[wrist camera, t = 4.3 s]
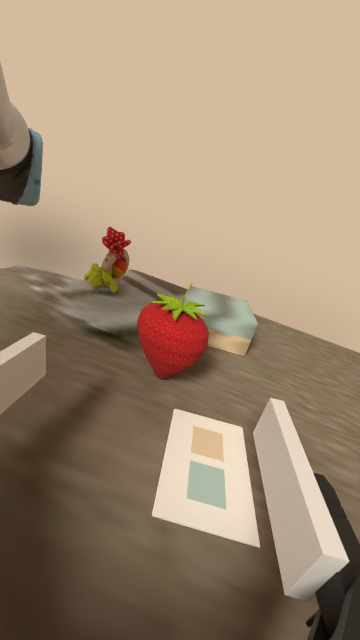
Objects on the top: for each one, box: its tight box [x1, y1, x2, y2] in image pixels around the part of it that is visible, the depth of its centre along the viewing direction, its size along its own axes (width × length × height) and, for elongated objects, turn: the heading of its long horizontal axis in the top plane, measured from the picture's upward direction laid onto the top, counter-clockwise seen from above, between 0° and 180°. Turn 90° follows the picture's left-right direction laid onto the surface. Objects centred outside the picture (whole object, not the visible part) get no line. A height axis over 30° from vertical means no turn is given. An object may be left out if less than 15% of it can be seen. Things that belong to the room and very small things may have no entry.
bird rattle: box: [84, 227, 131, 293], centre depth 43 cm, size 6×11×9 cm
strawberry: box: [137, 283, 209, 379], centre depth 22 cm, size 6×8×10 cm
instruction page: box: [152, 408, 260, 548], centre depth 16 cm, size 6×8×1 cm
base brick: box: [182, 286, 258, 356], centre depth 35 cm, size 10×10×5 cm
